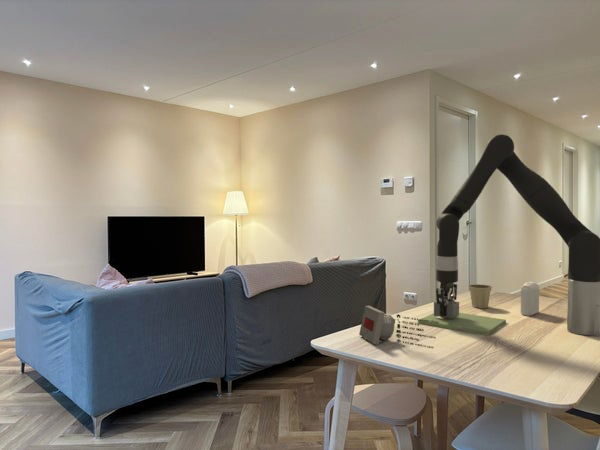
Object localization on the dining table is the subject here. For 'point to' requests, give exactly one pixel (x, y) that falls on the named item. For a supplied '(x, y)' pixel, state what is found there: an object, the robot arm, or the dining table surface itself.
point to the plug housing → (448, 309)
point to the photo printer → (529, 298)
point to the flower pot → (480, 295)
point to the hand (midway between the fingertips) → (446, 314)
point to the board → (466, 323)
